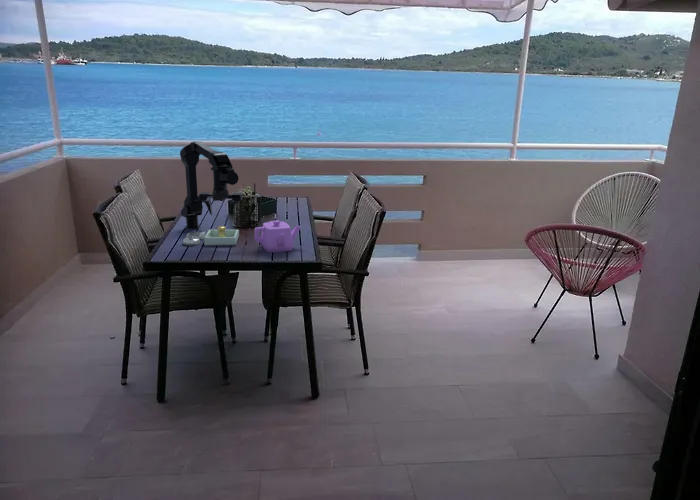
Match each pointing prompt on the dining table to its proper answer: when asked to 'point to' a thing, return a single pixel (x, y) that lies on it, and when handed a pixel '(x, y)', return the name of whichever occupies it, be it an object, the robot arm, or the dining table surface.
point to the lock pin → (221, 231)
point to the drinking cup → (259, 199)
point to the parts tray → (214, 238)
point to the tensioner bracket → (193, 238)
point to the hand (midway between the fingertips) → (221, 215)
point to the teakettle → (276, 236)
